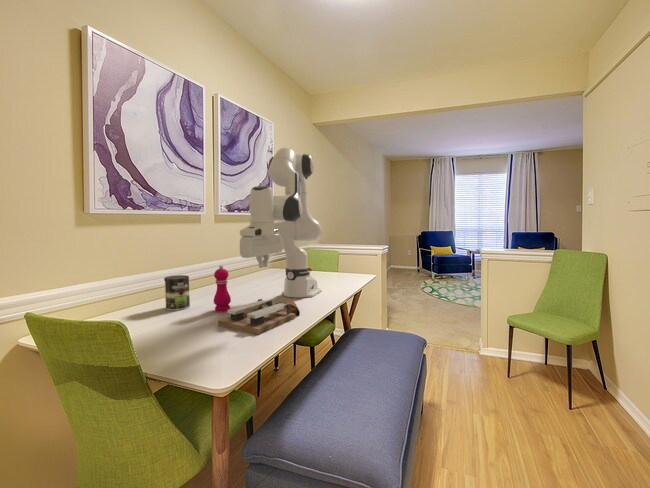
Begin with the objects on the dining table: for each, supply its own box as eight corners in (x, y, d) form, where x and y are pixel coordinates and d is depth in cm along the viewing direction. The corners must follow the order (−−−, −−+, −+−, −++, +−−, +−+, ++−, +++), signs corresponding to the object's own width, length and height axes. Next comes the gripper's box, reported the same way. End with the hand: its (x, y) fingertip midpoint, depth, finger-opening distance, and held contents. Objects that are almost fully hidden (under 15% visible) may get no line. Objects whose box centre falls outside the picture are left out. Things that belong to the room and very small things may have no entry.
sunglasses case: (274, 305, 157) (282, 293, 157) (288, 312, 159) (295, 299, 159) (279, 317, 139) (287, 302, 140) (294, 324, 141) (302, 310, 142)
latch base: (257, 311, 148) (257, 298, 148) (295, 318, 138) (295, 304, 137) (218, 325, 129) (217, 310, 129) (258, 334, 119) (258, 318, 119)
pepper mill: (226, 312, 146) (224, 266, 145) (210, 312, 148) (209, 266, 146) (234, 308, 153) (232, 264, 152) (219, 307, 155) (217, 263, 153)
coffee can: (193, 307, 155) (192, 277, 154) (169, 312, 148) (168, 280, 147) (185, 303, 163) (184, 274, 161) (162, 307, 156) (161, 277, 155)
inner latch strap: (261, 302, 145) (261, 300, 145) (268, 304, 143) (268, 301, 143) (227, 313, 129) (227, 310, 129) (235, 314, 127) (235, 311, 127)
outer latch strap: (279, 305, 140) (279, 303, 140) (287, 307, 138) (287, 304, 138) (247, 317, 124) (247, 313, 124) (255, 318, 122) (255, 315, 122)
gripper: (273, 228, 137) (274, 262, 138) (236, 231, 119) (237, 270, 121) (286, 228, 134) (286, 264, 135) (249, 231, 116) (250, 271, 117)
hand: (263, 267), depth 128 cm, fingers closed
